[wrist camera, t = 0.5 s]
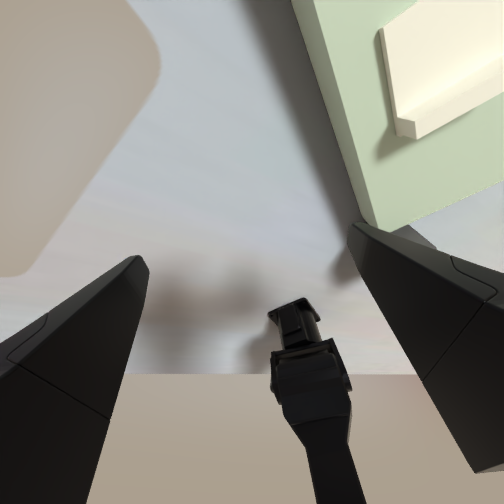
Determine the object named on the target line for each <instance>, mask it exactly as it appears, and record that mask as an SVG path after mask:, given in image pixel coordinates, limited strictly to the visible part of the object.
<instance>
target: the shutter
mask: <svg viewBox="0 0 504 504" xmlns="http://www.w3.org/2000/svg"><path fill="white" fill-rule="evenodd" d="M379 35H380V41H381V46H382V52H383V58H384V64H385V70H386V76H387V82H388V88H389V94H390V100H391V106H392V112H393V118H394V124H395V130H396V136H399V137H401V136H403V135H404V136H407V137H410V138H413V139H416V140H417V139H419V138H421V137H423V136H424V135H426V134H428V133H430V132H432V131H433V130H435V129H437V128H439V127H441V126H442V125H444V124H446V123H448V122H450V121H451V120H453V119H455V118H457V117H459V116H460V115H462V114H464V113H466V112H468V111H469V110H471V109H473V108H475V107H477V106H478V105H480V104H482V103H484V102H486V101H487V100H489V99H491V98H493V97H495V96H496V95H498V94H500V93H502V92H504V0H418V1H417V2H415V3H414V4H413V5H411V6H410V7H408V8H407V9H406V10H404V11H403V12H401V13H400V14H399V15H397V16H396V17H395V18H393V19H392V20H390V21H389V22H388V23H386V24H385V25H383V26H382V27H381V28H379Z"/></svg>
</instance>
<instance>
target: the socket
mask: <svg viewBox="0 0 504 504" xmlns="http://www.w3.org/2000/svg"><path fill="white" fill-rule="evenodd" d="M417 1H418V0H291V3H292V6H293V9H294V12H295V15H296V18H297V21H298V24H299V27H300V30H301V33H302V36H303V39H304V42H305V45H306V48H307V51H308V54H309V57H310V60H311V63H312V66H313V69H314V72H315V75H316V78H317V82H318V85H319V88H320V91H321V94H322V97H323V100H324V103H325V106H326V109H327V112H328V115H329V118H330V121H331V124H332V127H333V130H334V133H335V136H336V139H337V142H338V145H339V148H340V151H341V154H342V157H343V160H344V163H345V166H346V169H347V172H348V175H349V178H350V181H351V184H352V188H353V191H354V194H355V197H356V200H357V203H358V206H359V209H360V212H361V215H362V217H363V218H364V219H365V220H366V221H367V223H368V224H369V225H370V226H373V227H376V228H379V229H381V230H384V231H387V232H389V233H390V232H392V231H394V230H397V229H399V228H401V227H403V226H405V225H407V224H410V223H412V222H414V221H416V220H418V219H421V218H423V217H425V216H427V215H429V214H431V213H434V212H436V211H438V210H440V209H442V208H444V207H447V206H449V205H451V204H453V203H455V202H458V201H460V200H462V199H464V198H466V197H468V196H471V195H473V194H475V193H477V192H479V191H481V190H484V189H486V188H488V187H490V186H492V185H495V184H497V183H499V182H501V181H503V180H504V92H502V93H500V94H498V95H496V96H495V97H493V98H491V99H489V100H487V101H486V102H484V103H482V104H480V105H478V106H477V107H475V108H473V109H471V110H469V111H468V112H466V113H464V114H462V115H460V116H459V117H457V118H455V119H453V120H451V121H450V122H448V123H446V124H444V125H442V126H441V127H439V128H437V129H435V130H433V131H432V132H430V133H428V134H426V135H424V136H423V137H421V138H419V139H417V140H416V139H413V138H410V137H407V136H404V135H403V136H401V137H399V136H396V130H395V124H394V118H393V112H392V106H391V100H390V94H389V88H388V82H387V76H386V70H385V64H384V58H383V52H382V46H381V41H380V35H379V28H381V27H382V26H383V25H385V24H386V23H388V22H389V21H390V20H392V19H393V18H395V17H396V16H397V15H399V14H400V13H401V12H403V11H404V10H406V9H407V8H408V7H410V6H411V5H413V4H414V3H415V2H417Z"/></svg>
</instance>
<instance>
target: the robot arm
mask: <svg viewBox="0 0 504 504" xmlns="http://www.w3.org/2000/svg"><path fill="white" fill-rule="evenodd" d="M347 244H348V247H349V249H350V252H351V254H352V256H353V259H354V261H355V264H356V266H357V268H358V271H359V273H360V275H361V277H362V279H363V280H364V282H365V284H366V286H367V287H368V289H369V291H370V293H371V294H372V296H373V298H374V299H375V301H376V303H377V305H378V306H379V308H380V310H381V312H382V313H383V315H384V317H385V319H386V320H387V322H388V324H389V326H390V327H391V329H392V331H393V333H394V334H395V336H396V338H397V340H398V341H399V343H400V345H401V347H402V348H403V350H404V352H405V354H406V355H407V357H408V359H409V360H410V362H411V364H412V366H413V367H414V369H415V371H416V373H417V374H418V376H419V378H420V380H421V381H423V382H422V383H423V385H424V387H425V389H426V390H427V392H428V394H429V396H430V397H431V399H432V401H433V402H434V404H435V406H436V408H437V410H438V411H439V413H440V415H441V417H442V418H443V420H444V422H445V424H446V425H447V427H448V429H449V430H450V432H451V434H452V436H453V437H454V439H455V441H456V443H457V444H458V446H459V448H460V449H461V451H462V453H463V455H464V457H465V458H466V460H467V462H468V464H469V465H470V467H471V468H472V470H473V471H474V473H476V474H477V473H486V472H496V471H504V273H501V272H498V271H495V270H492V269H489V268H486V267H483V266H480V265H477V264H474V263H471V262H469V261H466V260H463V259H460V258H458V257H455V256H450V255H449V254H447V253H444V252H441V251H438V250H436V249H433V248H430V247H427V246H425V245H422V244H419V243H417V242H414V241H411V240H408V239H406V238H403V237H400V236H398V235H395V234H392V233H389V232H387V231H384V230H381V229H379V228H376V227H373V226H370V225H368V224H365V223H362V222H357V223H351V224H350V226H349V231H348V237H347ZM148 280H149V269H148V267H147V265H146V263H145V262H144V260H143V258H142V257H141V256H140V255H135V256H129V257H128V258H126V259H125V260H123V261H122V262H121V263H119V264H118V265H116V266H115V267H113V268H112V269H110V270H109V271H107V272H106V273H104V274H103V275H101V276H100V277H99V278H97V279H96V280H94V281H93V282H91V283H90V284H88V285H87V286H85V287H84V288H82V289H81V290H80V291H78V292H77V293H75V294H74V295H72V296H71V297H69V298H68V299H66V300H65V301H63V302H62V303H60V304H59V305H58V306H56V307H55V308H53V309H52V310H50V311H49V313H46V314H44V315H43V316H41V317H40V318H38V319H37V320H35V321H34V322H32V323H31V324H29V325H28V326H26V327H25V328H23V329H22V330H20V331H19V332H17V333H16V334H14V335H13V336H11V337H10V338H8V339H6V340H5V341H3V342H2V343H0V504H86V502H87V498H88V495H89V492H90V488H91V485H92V481H93V478H94V475H95V471H96V468H97V464H98V461H99V457H100V454H101V451H102V447H103V444H104V441H105V437H106V434H107V430H108V427H109V423H110V419H111V416H112V413H113V409H114V406H115V402H116V399H117V396H118V392H119V389H120V386H121V382H122V379H123V375H124V372H125V368H126V365H127V362H128V358H129V355H130V351H131V348H132V345H133V341H134V338H135V334H136V331H137V328H138V324H139V321H140V317H141V314H142V310H143V307H144V303H145V298H146V292H147V286H148ZM268 315H269V317H270V318H271V319H272V321H273V322H274V323H275V324H276V325H277V326H278V327H279V332H280V338H281V344H282V349H283V350H280V351H276V352H275V351H273V352H271V359H270V363H271V383H270V389H271V391H272V392H273V393H274V394H275V397H276V399H277V401H278V404H279V405H282V410H283V415H284V417H285V419H286V420H287V422H288V423H289V425H290V426H291V428H292V429H293V431H294V432H295V434H296V435H297V436H298V438H299V439H300V441H301V442H302V444H303V445H304V447H305V449H306V452H307V458H308V462H309V468H310V473H311V477H312V482H313V487H314V492H315V497H316V502H317V504H366V500H365V497H364V494H363V491H362V487H361V485H360V481H359V478H358V475H357V472H356V468H355V465H354V462H353V459H352V456H351V452H350V449H349V446H348V442H349V435H350V427H351V419H352V407H351V401H350V398H349V395H348V392H350V391H352V386H351V383H350V380H349V377H348V374H347V371H346V368H345V366H344V363H343V361H342V359H341V356H340V354H339V352H338V349H337V347H336V345H335V342H334V340H333V338H330V339H328V340H324V341H322V339H321V336H320V333H319V330H318V327H317V324H316V322H319V321H320V320H321V319H320V317H319V315H318V314H317V313H316V311H315V310H314V308H313V307H312V306H311V304H310V303H309V301H308V300H307V299H306V298H302V299H299V300H297V301H295V302H292V303H290V304H288V305H285V306H283V307H281V308H278V309H276V310H274V311H271V312H269V313H268Z"/></svg>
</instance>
